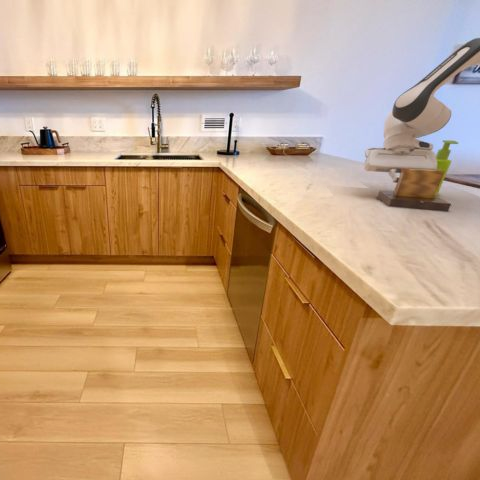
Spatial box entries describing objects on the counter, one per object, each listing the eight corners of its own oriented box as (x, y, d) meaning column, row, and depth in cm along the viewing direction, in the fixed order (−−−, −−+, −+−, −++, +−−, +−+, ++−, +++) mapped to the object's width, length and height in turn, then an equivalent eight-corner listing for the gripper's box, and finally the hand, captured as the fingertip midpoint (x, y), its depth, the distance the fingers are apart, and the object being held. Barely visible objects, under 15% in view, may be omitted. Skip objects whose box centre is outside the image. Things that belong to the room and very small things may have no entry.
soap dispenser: (424, 196, 109) (446, 141, 100) (414, 191, 115) (434, 139, 106) (442, 197, 107) (466, 141, 99) (431, 192, 113) (452, 139, 105)
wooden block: (430, 196, 98) (441, 169, 94) (433, 198, 96) (445, 170, 92) (392, 194, 100) (402, 167, 96) (395, 196, 98) (405, 168, 94)
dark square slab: (427, 201, 103) (431, 192, 102) (450, 214, 90) (454, 204, 89) (375, 196, 108) (378, 188, 107) (390, 208, 95) (393, 199, 94)
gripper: (368, 141, 103) (368, 174, 99) (439, 144, 97) (441, 179, 93) (362, 152, 109) (360, 184, 105) (427, 155, 103) (429, 189, 99)
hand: (399, 182), depth 99 cm, fingers closed, pressing on wooden block
